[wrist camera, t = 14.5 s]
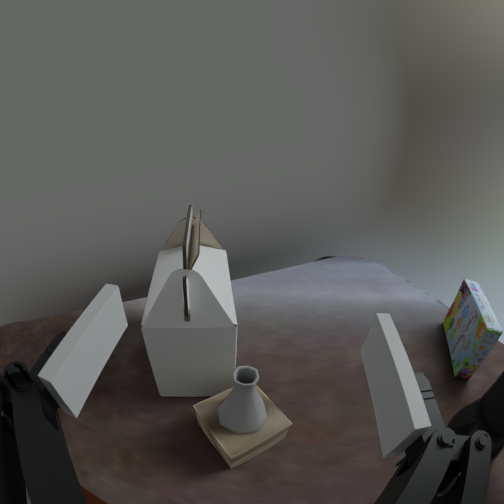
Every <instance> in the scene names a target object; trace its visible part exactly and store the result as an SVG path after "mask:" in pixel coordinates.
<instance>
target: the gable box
mask: <svg viewBox="0 0 504 504" xmlns="http://www.w3.org/2000/svg"><path fill="white" fill-rule="evenodd" d="M237 327H238V325H237V319H236V313H235V307H234V300H233V294H232V287H231V281H230V274H229V268H228V261H227V255H226V251H225V250H224V249H223V248H222V246H221V245H220V243H219V242H218V241H217V240H216V238H215V237H214V236H213V234H212V233H211V232H210V231H209V229H208V228H207V226H206V225H205V224H204V222H203V221H202V220H201V210H200V211H199V213H198V215H197V217H196V218H194V217H193V215H192V205H189V208H188V214H187V218H184V219H183V220H181V221H180V222H179V224H178V225H177V227H176V229H175V230H174V231H173V233H172V235H171V236H170V238H169V239H168V240H167V242H166V244H165V245H164V247H163V248H162V250H161V251H160V252H159V255H158V259H157V263H156V266H155V270H154V274H153V277H152V281H151V285H150V289H149V293H148V297H147V301H146V305H145V309H144V314H143V318H142V323H141V330H142V334H143V338H144V342H145V346H146V350H147V354H148V357H149V361H150V364H151V368H152V371H153V375H154V378H155V381H156V384H157V387H158V391H159V394H160V396H173V397H201V396H215V395H217V394H220V393H222V392H224V391H226V390H228V389H230V388H232V387H233V386H234V381H233V375H232V374H233V372H234V371H235V369H236V348H237Z"/></svg>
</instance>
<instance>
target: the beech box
mask: <svg viewBox="0 0 504 504" xmlns="http://www.w3.org/2000/svg"><path fill="white" fill-rule="evenodd" d="M232 388H233V387H232ZM232 388H230V389H228V390H226V391H224V392H222V393H220V394H217V395H215V396H213V397H211V398H208V399H206V400H204V401H202V402H199V403H197V404H194V405H193V408H194V409H195V411H196V416H197V421H198V424H199V425H200V427H201V428H202V430H203V431H204V433H205V434H206V436H207V437H208V438H209V440H210V441H211V443H212V444H213V445H214V447H215V448H216V450H217V451H218V452H219V454H220V455H221V456H222V458H223V459H224V460H225V462H226V463H227V464H228V465H229V467H230V468H231V469H232V468H234V467H236V466H238V465H240V464H242V463H244V462H246V461H247V460H249V459H251V458H253V457H255V456H256V455H258V454H260V453H262V452H263V451H265V450H267V449H268V448H270V447H272V446H273V445H275V444H277V443H278V442H280V441H281V440H283V439H284V438H285V435H286V433H287V430H288V428H289V427H290V426H291V425H292V422H291V421H290V420H289V419H288V418H287V417H286V416H285V415H284V414H283V413H282V412H281V411H280V410H279V409H278V408H277V407H276V406H275V405H274V404H273V403H272V402H271V400H270V399H269V398H268V397H267V396H266V395H265V394H264V393H263V392H262V391H261V390H260V388H259V387H258V386H257V385H256V389H257V391H258V393H259V395H260V397H261V398H262V400H263V402H264V406H265V410H266V414H267V418H266V420H265V422H264V423H263V425H262V427H261V428H260V430H259V432H251V433H242V434H237V433H235V432H233V431H231V430H229V429H227V428H225V427H223V426H221V425H220V423H219V415H218V408H219V406H220V405H221V404H222V402H223V401H224V400H225V398H226V397H227V396H228V394H229V393H230V392H231V391H232Z"/></svg>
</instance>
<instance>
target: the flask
mask: <svg viewBox="0 0 504 504" xmlns="http://www.w3.org/2000/svg"><path fill="white" fill-rule="evenodd" d="M232 375H233V381H234V386H233V388H232V391H231V392H230V393H229V394H228V396H227V397H226V398H225V400H224V401H223V402H222V404H221V405H220V406H219V408H218V415H219V423H220V425H221V426H223V427H225V428H227V429H229V430H231V431H233V432H235V433H237V434H242V433H251V432H259V430H260V428H261V427H262V425H263V423H264V422H265V420H266V418H267V414H266V410H265V406H264V402H263V400H262V398H261V397H260V395H259V393H258V391H257V389H256V383H257V381H258V380H259V375H258V371H257V369H255V368H253V367H250V366H238V367H237V368H236V369H235V371H234V372H233V374H232Z"/></svg>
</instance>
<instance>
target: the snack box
mask: <svg viewBox="0 0 504 504" xmlns="http://www.w3.org/2000/svg"><path fill="white" fill-rule="evenodd" d="M443 326H444V330H445V334H446V338H447V342H448V347H449V351H450V356H451V361H452V366H453V372H454V377H458V378H464V379H470V377H471V376H472V375H473V374H474V372H475V371H476V370H477V369H478V367H479V366H480V365H481V363H482V362H483V360H484V359H485V358H486V356H487V355H488V353H489V352H490V351H491V349H492V348H493V346H494V345H495V343H496V342H497V340H498V339H499V337H500V336H501V334H502V330H501V327H500V325H499V323H498V321H497V319H496V317H495V315H494V312H493V310H492V308H491V306H490V304H489V302H488V301H487V299H486V297H485V295H484V293H483V291H482V289H481V287H480V286H479V284H478V283H477V282H474V281H470V280H467V279H464V281H463V283H462V285H461V287H460V289H459V291H458V293H457V296H456V298H455V300H454V302H453V304H452V306H451V308H450V310H449V312H448V314H447V315H446V317H445V319H444V321H443Z"/></svg>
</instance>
